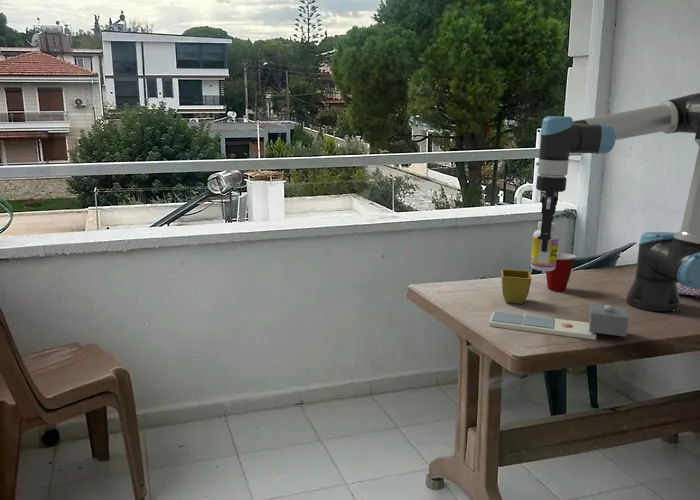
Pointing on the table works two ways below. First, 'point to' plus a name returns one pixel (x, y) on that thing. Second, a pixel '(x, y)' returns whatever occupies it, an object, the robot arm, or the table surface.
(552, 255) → the supplement bottle
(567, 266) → the plastic cup
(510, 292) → the flower pot
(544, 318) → the board
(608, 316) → the cover
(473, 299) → the table surface
